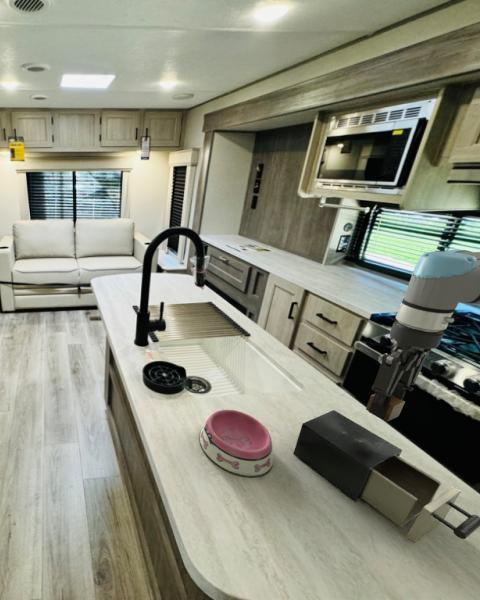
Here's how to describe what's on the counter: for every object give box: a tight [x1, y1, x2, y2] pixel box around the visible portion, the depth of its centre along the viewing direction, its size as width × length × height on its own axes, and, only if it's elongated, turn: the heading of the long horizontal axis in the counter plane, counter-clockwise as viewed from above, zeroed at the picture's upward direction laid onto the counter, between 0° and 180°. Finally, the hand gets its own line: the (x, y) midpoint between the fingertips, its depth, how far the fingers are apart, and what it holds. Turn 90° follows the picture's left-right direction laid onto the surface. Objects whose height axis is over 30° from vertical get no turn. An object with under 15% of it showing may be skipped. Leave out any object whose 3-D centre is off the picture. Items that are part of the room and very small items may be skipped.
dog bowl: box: [198, 409, 274, 478], centre depth 85 cm, size 18×19×7 cm
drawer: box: [359, 455, 480, 543], centre depth 67 cm, size 18×11×9 cm, turn 22°
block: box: [365, 392, 406, 422], centre depth 74 cm, size 4×4×4 cm
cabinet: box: [293, 409, 403, 503], centre depth 78 cm, size 15×13×11 cm
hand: (382, 412), depth 75 cm, fingers closed on block, 4 cm apart
